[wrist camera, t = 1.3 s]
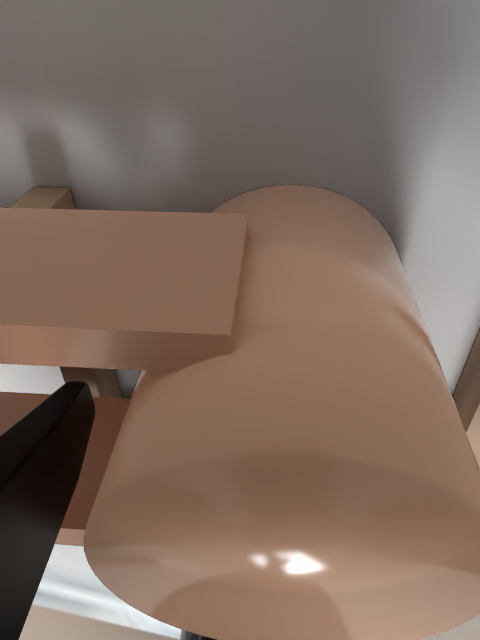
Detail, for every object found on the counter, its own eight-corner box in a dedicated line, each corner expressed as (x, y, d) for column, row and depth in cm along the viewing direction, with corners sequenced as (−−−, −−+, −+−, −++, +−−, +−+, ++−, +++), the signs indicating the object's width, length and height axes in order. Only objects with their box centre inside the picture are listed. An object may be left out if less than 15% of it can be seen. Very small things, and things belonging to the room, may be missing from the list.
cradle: (460, 448, 17) (472, 484, 16) (104, 427, 18) (92, 459, 17) (575, 198, 11) (609, 226, 10) (33, 186, 12) (5, 211, 11)
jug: (477, 179, 11) (730, 468, 5) (414, 379, 15) (504, 673, 9) (-89, 169, 12) (-500, 395, 6) (-2, 359, 16) (-185, 610, 10)
